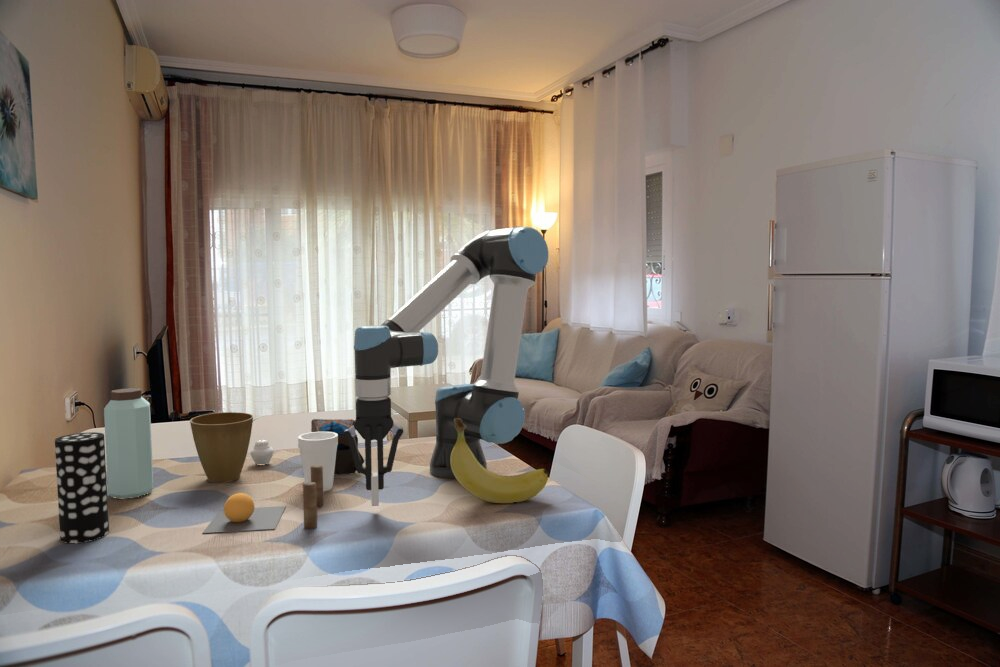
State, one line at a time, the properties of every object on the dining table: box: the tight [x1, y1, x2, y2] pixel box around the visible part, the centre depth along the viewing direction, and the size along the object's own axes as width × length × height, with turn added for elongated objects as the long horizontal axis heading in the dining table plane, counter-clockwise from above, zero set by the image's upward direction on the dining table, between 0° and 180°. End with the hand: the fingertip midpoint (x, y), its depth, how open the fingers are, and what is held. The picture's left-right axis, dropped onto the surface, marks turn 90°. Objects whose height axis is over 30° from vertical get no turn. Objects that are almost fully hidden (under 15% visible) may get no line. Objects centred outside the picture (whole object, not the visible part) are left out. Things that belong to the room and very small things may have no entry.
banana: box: [450, 418, 550, 504], centre depth 153 cm, size 23×6×20 cm, turn 100°
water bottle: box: [103, 387, 154, 499], centre depth 160 cm, size 10×10×25 cm
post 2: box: [311, 465, 325, 508], centre depth 151 cm, size 3×3×9 cm
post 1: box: [302, 482, 318, 530], centre depth 138 cm, size 3×3×9 cm
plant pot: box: [189, 411, 254, 483], centre depth 172 cm, size 15×15×16 cm
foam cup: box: [297, 431, 338, 492], centre depth 164 cm, size 10×9×13 cm
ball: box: [223, 492, 255, 523], centre depth 141 cm, size 6×6×6 cm
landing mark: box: [202, 505, 287, 535], centre depth 143 cm, size 14×14×1 cm
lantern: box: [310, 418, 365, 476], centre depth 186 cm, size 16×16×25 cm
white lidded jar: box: [249, 439, 275, 465], centre depth 186 cm, size 6×6×7 cm
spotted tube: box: [54, 431, 110, 544], centre depth 133 cm, size 8×8×20 cm
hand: (375, 503), depth 147 cm, fingers closed
